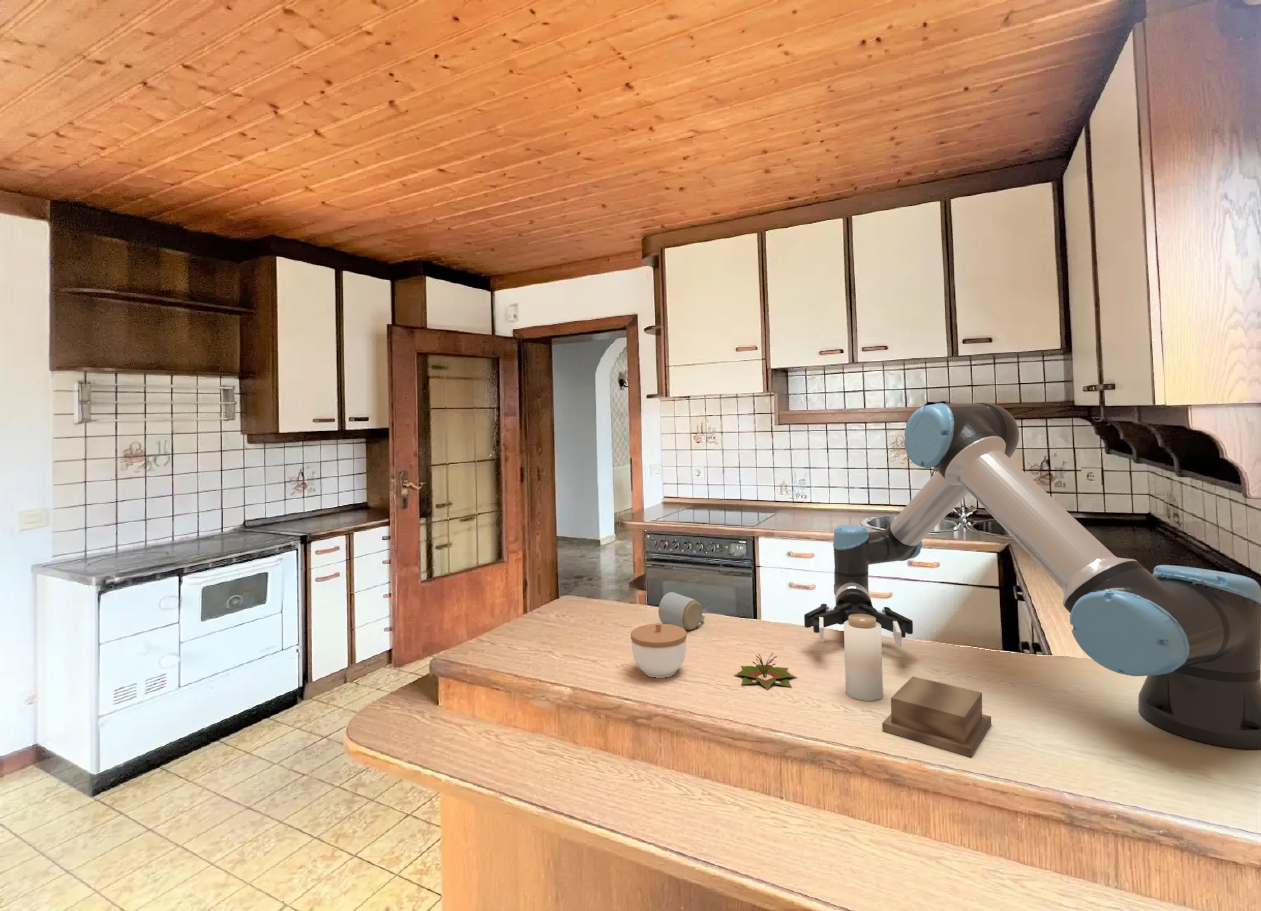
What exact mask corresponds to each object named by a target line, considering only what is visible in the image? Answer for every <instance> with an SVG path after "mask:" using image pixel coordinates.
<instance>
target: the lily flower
mask: <svg viewBox="0 0 1261 911" xmlns="http://www.w3.org/2000/svg"><path fill="white" fill-rule="evenodd" d="M757 654H758V655H755V657H756V658H755V661H757V662H758V664H757V663H756V662H755V661H752V664H754V665H755V666H753V665H741V668H742V670H740V671H738V672H737V673H735V674H734V676H745V677H743V678H742V681H741V684H740V685H741V686H742V685H743V686H744V685H751V684H761V685H762V686H763V687H765V689H766V690H768V689H769V688H770V687H771V686H772V685H780V686H783V687H790V688H792V685H791V683H790V680H788V679H787V678H797V679H798V677H797V676H795V675H793V674H791V673H790V672H788V669H789V667H782V666H781V667H779V666H776V667H774V666H775V665H776V663H773V664H771V663H772V662H773V661H774V659H776V658H778V656H774V657H773V658H771V656H772V655H774V652H772V653H771V654H770V656H769V657H768V659H767V661H766V662H765V664H764V662H763V659H762V657H761V654H760V653H757ZM764 661H765V659H764ZM760 676H762V677H763V678H761V677H760ZM767 676H770V677H771V678H768V679H764V678H767ZM755 679H756V680H757V681H754V680H755ZM777 680H778V682H777Z"/></svg>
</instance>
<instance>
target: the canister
mask: <svg viewBox="0 0 1261 911" xmlns="http://www.w3.org/2000/svg"><path fill="white" fill-rule="evenodd" d="M848 619H849V620H847V621H845V622H844V624H843V638H844V642H843V644H844V646H843V647H844V674H845V675H844V677H845V678H844V679H845V680H844V682H845V694H846V695H847V696H849V697H850V698H852V699H855V700H858V701H864V702H875V701H880V700H881V699H883V697H884V682H883V679H884V678H883V649H882V648H883V645H882V644H883V643H882V628H881V624H879V623H878V622H876V618H875V617H874V616H872V615H868V614H852V615H849V617H848Z"/></svg>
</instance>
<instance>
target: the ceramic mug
mask: <svg viewBox="0 0 1261 911" xmlns="http://www.w3.org/2000/svg"><path fill="white" fill-rule="evenodd" d="M657 612H658V617H659V620H660V622H661V624H671V625H676V626H679V627H681V628H683V629H685V631H692V630H694V629H696V628H697V627H698V626H699V624H700V623H704V621H705V615H703V609H702V605H701V603H700V602H699V601H697V600H696V599H695V598H692V597H689V596H684V595H682V594H680V593H677V592H675V591H674V592H671V591H670V592H669V591H668V592H667V593H665V595H663V597H662V598H661V599H660V602H659V604H658V611H657Z"/></svg>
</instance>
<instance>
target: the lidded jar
mask: <svg viewBox="0 0 1261 911" xmlns="http://www.w3.org/2000/svg"><path fill="white" fill-rule="evenodd" d="M687 634H688V632H687V630H685V629H683V628H681V627H679V626H676V625H671V624H664V623H660V622H658V623H651V624H646V625H641V626H638V627H635V628H634V629H633V630H632V631H631V632H630V640H631V649H632V650H631V651H632V655H633V659H634V661H635V664H636V665H637V667H638V668H639V669H640V670H641V671H642V672H643V673H645V674H646V675H648V676H647V677H649V676H650V677H649V678H652V677H656V678H655V679H665V677H667V678H670V677H672V675H673V676H674V675H675V674H676V672H677V671H678V670H679V668H681V667H682V665H683V663H684V661H685V658H686V657H685V656H686V653H687V652H686V651H687V637H688V635H687ZM645 674H644V675H645ZM646 675H645V676H646Z"/></svg>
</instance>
